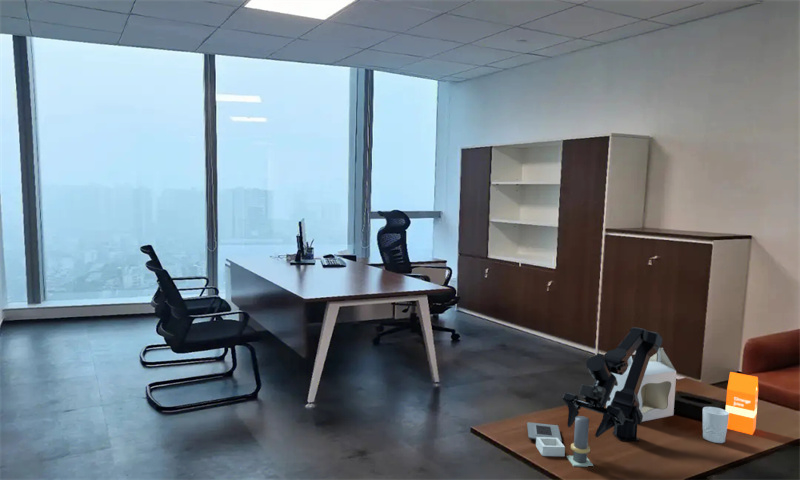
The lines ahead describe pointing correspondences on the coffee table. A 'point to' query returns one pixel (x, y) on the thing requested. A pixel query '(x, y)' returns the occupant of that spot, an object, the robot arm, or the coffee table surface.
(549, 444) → the frame
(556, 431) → the electrical outlet
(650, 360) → the gable box
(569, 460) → the rubber pad
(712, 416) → the white cup
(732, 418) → the orange juice
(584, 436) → the grey tapered rounded cylinder
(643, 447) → the coffee table surface
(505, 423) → the coffee table surface
